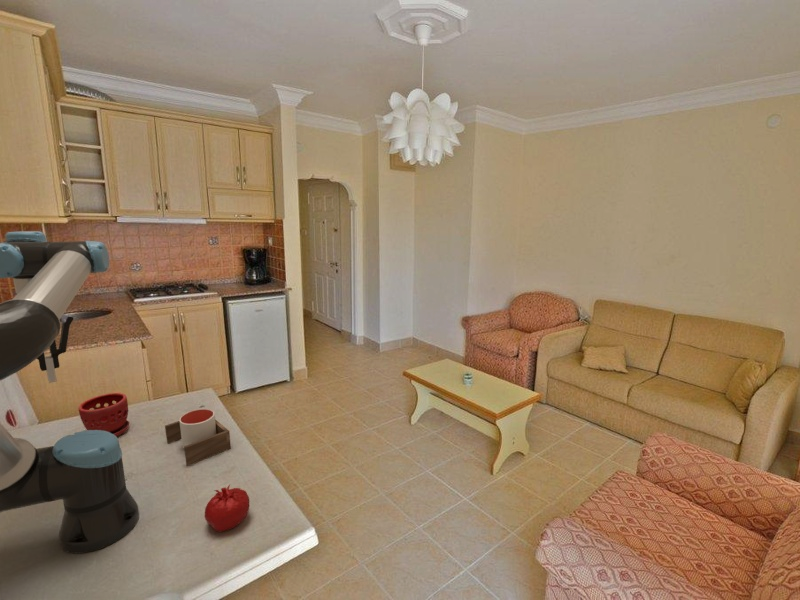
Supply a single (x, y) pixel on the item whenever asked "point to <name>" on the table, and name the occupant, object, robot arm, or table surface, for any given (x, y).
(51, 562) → the table surface
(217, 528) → the pomegranate
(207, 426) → the cup
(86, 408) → the plant pot
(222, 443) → the box
